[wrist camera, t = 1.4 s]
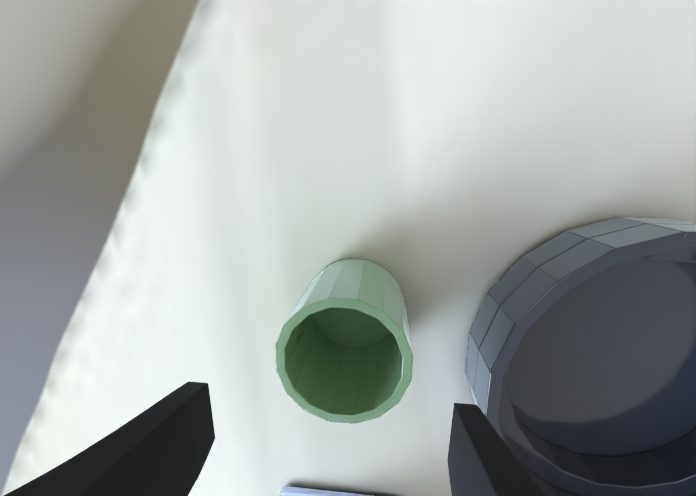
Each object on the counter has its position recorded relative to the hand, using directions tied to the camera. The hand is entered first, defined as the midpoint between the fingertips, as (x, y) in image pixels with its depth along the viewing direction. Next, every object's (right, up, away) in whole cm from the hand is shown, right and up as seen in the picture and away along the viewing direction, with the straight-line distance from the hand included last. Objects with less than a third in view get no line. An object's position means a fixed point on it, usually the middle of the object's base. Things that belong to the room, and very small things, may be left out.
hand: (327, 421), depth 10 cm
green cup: (+1, +2, +9) cm, 10 cm away
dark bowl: (+14, -1, +9) cm, 17 cm away
